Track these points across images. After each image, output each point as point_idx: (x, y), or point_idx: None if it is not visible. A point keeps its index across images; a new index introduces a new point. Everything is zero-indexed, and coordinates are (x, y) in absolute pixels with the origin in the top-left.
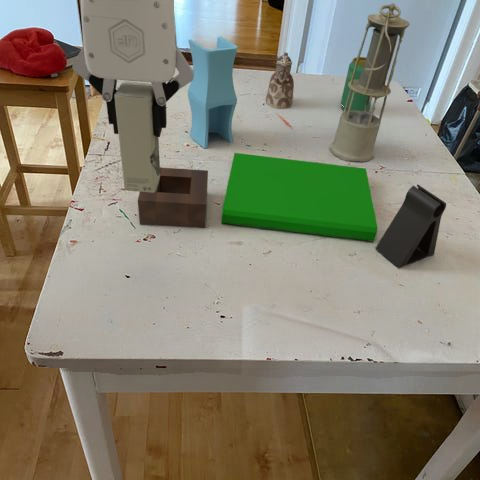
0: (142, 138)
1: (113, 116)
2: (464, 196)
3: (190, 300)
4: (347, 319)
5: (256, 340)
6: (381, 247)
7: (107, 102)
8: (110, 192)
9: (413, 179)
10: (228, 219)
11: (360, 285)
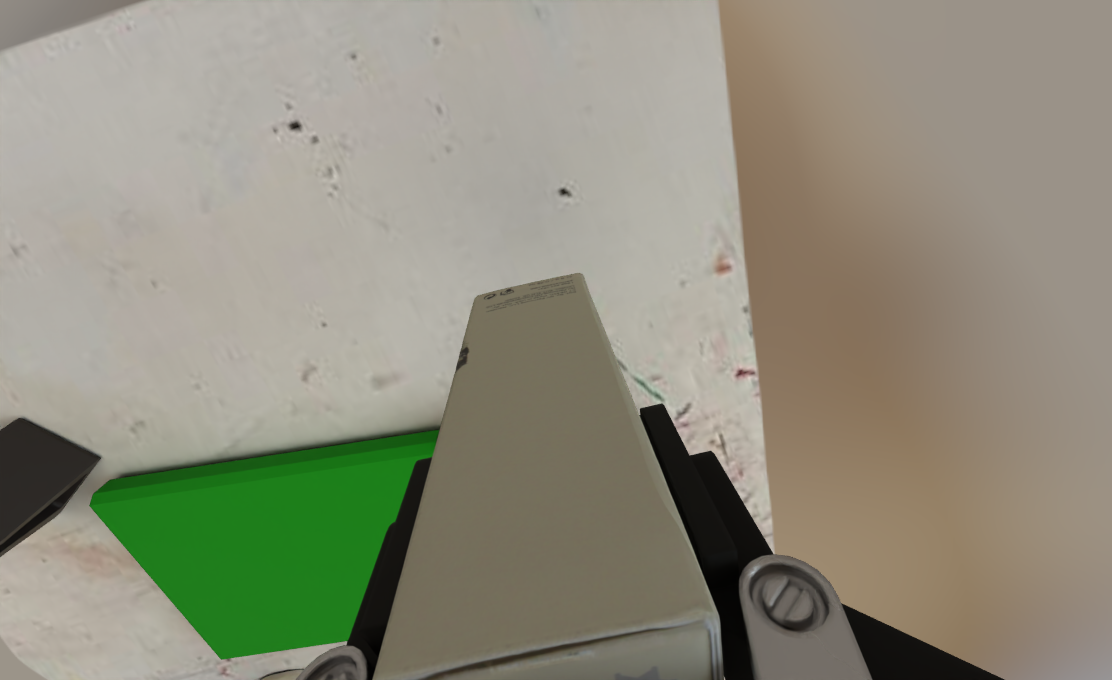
0: (489, 407)
1: (687, 471)
2: (33, 651)
3: (393, 158)
4: (23, 217)
5: (176, 65)
6: (75, 460)
7: (766, 559)
8: (700, 443)
9: (151, 663)
10: (422, 436)
11: (64, 339)
